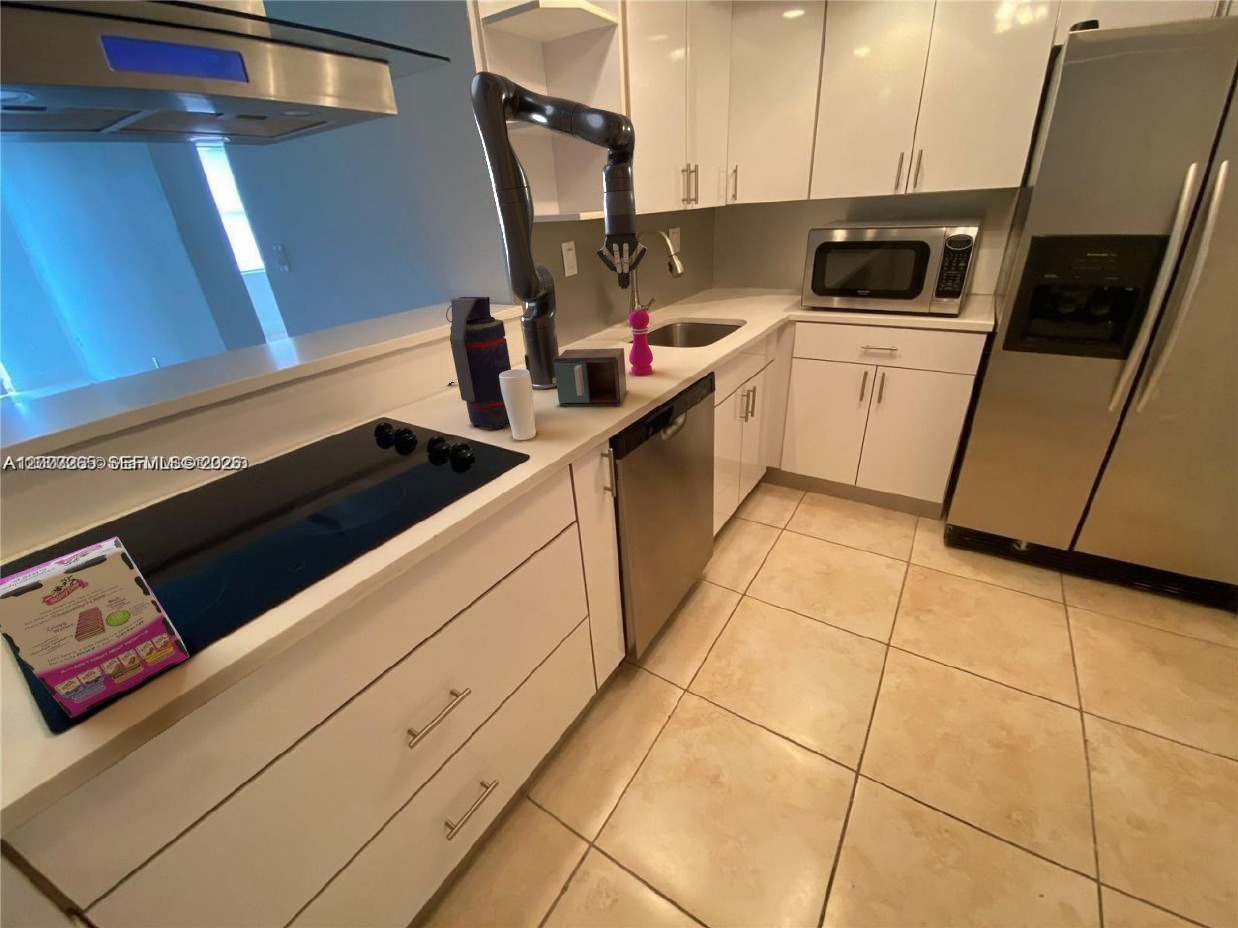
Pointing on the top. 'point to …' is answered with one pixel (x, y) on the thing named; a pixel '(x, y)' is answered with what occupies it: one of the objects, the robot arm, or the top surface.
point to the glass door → (572, 382)
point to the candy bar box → (88, 625)
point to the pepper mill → (640, 343)
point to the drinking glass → (518, 402)
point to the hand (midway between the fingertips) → (624, 288)
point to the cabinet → (600, 374)
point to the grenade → (479, 359)
